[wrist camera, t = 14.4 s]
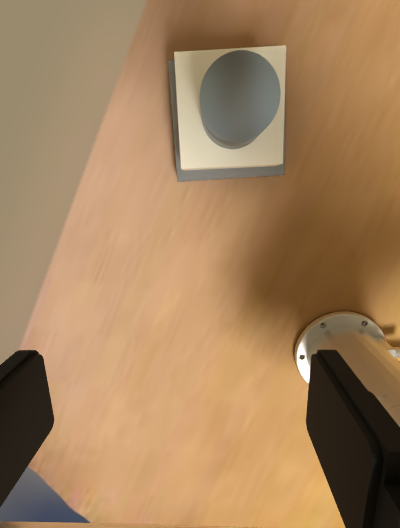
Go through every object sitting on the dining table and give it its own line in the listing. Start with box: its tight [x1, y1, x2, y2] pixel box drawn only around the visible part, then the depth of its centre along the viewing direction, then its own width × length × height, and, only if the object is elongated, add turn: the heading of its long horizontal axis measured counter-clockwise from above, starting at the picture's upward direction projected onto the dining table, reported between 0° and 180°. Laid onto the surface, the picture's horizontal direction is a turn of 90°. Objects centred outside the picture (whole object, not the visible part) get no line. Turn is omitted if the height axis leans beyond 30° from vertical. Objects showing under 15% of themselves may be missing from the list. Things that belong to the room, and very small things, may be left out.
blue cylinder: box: [200, 50, 281, 149], centre depth 25 cm, size 6×6×6 cm
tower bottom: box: [168, 60, 286, 182], centre depth 33 cm, size 12×12×4 cm
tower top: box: [174, 45, 286, 170], centre depth 30 cm, size 10×10×4 cm
